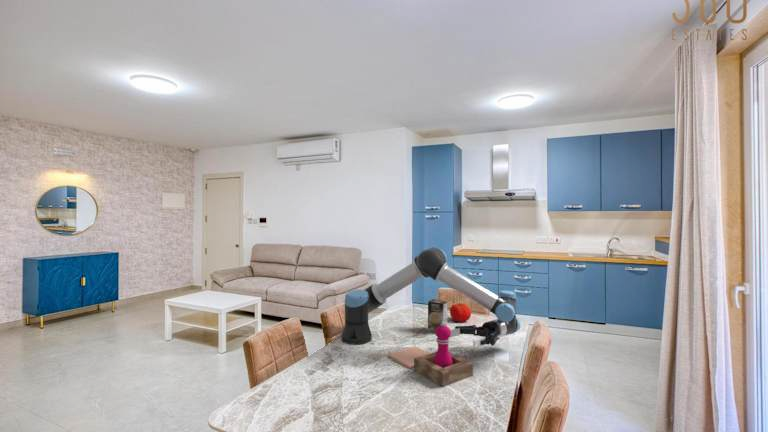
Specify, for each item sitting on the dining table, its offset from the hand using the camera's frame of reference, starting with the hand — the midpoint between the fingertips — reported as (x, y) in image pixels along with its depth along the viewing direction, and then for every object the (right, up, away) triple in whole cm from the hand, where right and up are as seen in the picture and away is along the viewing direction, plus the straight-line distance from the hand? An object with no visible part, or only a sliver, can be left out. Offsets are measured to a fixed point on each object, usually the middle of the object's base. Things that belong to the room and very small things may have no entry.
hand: (460, 339), depth 143 cm
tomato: (+13, -12, +64) cm, 66 cm away
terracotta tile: (-19, -11, +9) cm, 24 cm away
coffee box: (-3, -12, +45) cm, 47 cm away
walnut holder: (-8, -11, -6) cm, 15 cm away
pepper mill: (-8, -12, -6) cm, 15 cm away
